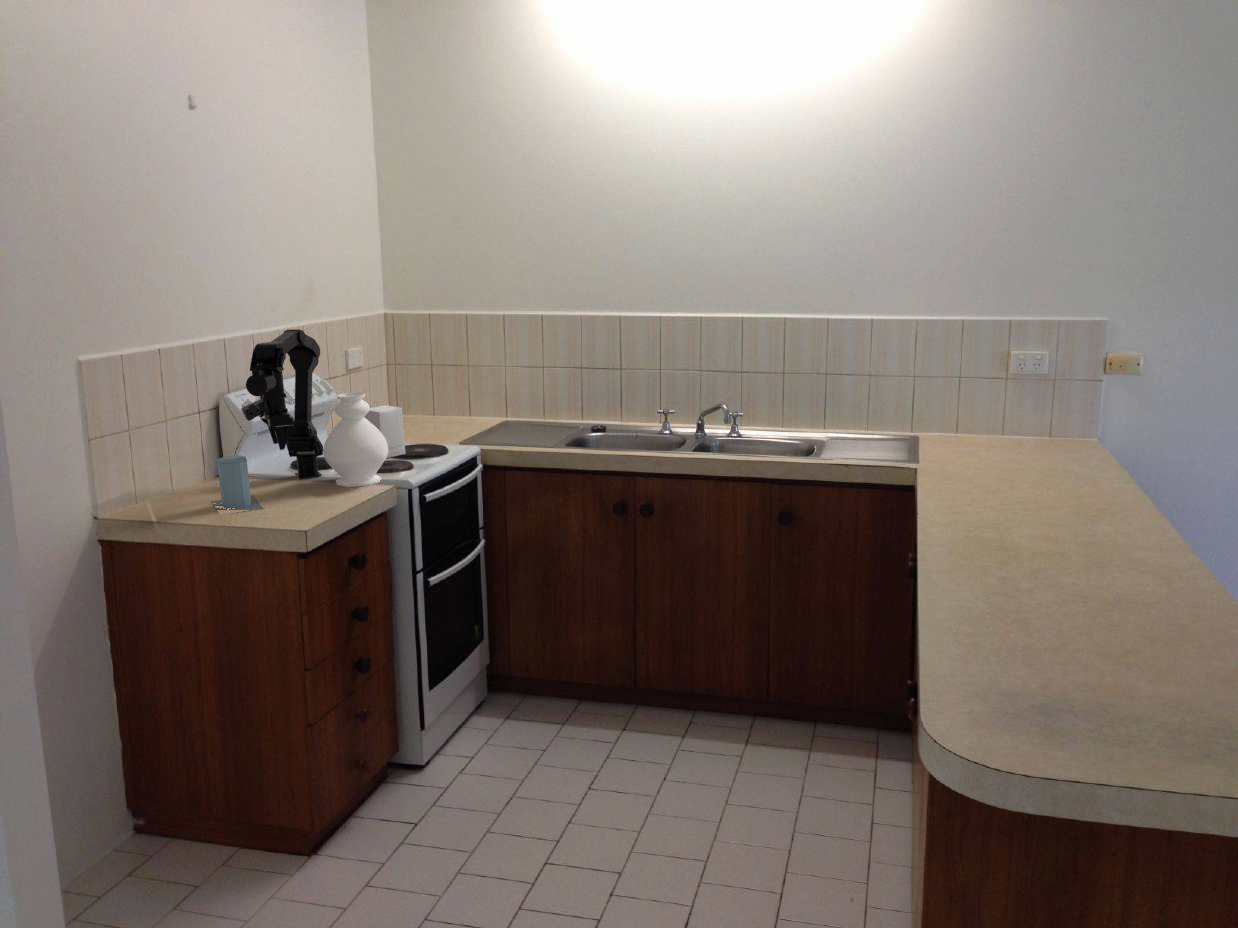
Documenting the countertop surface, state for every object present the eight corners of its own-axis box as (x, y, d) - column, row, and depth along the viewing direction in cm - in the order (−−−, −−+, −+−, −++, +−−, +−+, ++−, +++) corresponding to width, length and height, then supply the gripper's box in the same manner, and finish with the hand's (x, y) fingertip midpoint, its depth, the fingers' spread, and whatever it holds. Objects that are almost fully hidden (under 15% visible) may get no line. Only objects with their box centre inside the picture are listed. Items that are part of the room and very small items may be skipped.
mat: (211, 503, 290) (210, 501, 290) (253, 496, 295) (253, 495, 295) (219, 517, 276) (219, 515, 276) (263, 510, 281) (263, 508, 281)
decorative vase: (314, 483, 308) (305, 396, 302) (366, 470, 321) (359, 387, 315) (350, 492, 297) (342, 402, 291) (403, 479, 309) (396, 392, 304)
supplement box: (406, 454, 341) (403, 407, 338) (382, 459, 335) (378, 412, 331) (389, 450, 347) (385, 404, 344) (365, 455, 341) (361, 408, 337)
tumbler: (226, 502, 289) (220, 456, 286) (253, 500, 290) (248, 454, 287) (220, 509, 282) (214, 462, 279) (248, 507, 283) (242, 460, 280)
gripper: (236, 388, 297) (242, 444, 300) (247, 398, 280) (254, 456, 284) (278, 384, 301) (284, 439, 305) (291, 393, 285) (297, 451, 289)
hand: (278, 446), depth 296 cm, fingers open, 9 cm apart
